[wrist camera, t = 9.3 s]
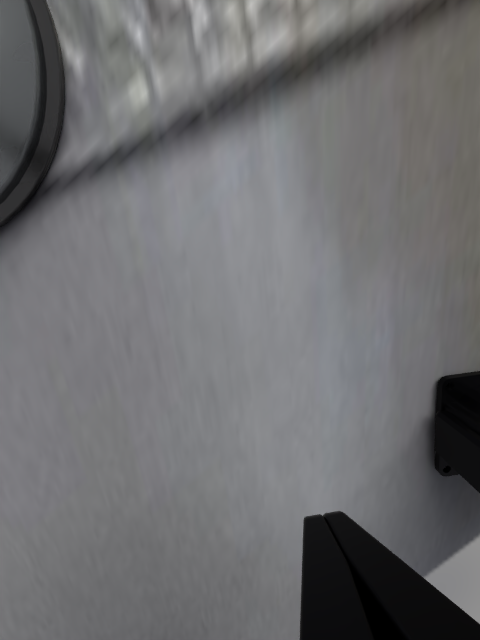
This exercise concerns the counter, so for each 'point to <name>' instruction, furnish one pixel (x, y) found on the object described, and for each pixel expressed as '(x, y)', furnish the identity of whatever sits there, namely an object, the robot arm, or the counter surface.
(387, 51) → the counter surface
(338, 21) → the counter surface
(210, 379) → the counter surface
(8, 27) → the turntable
